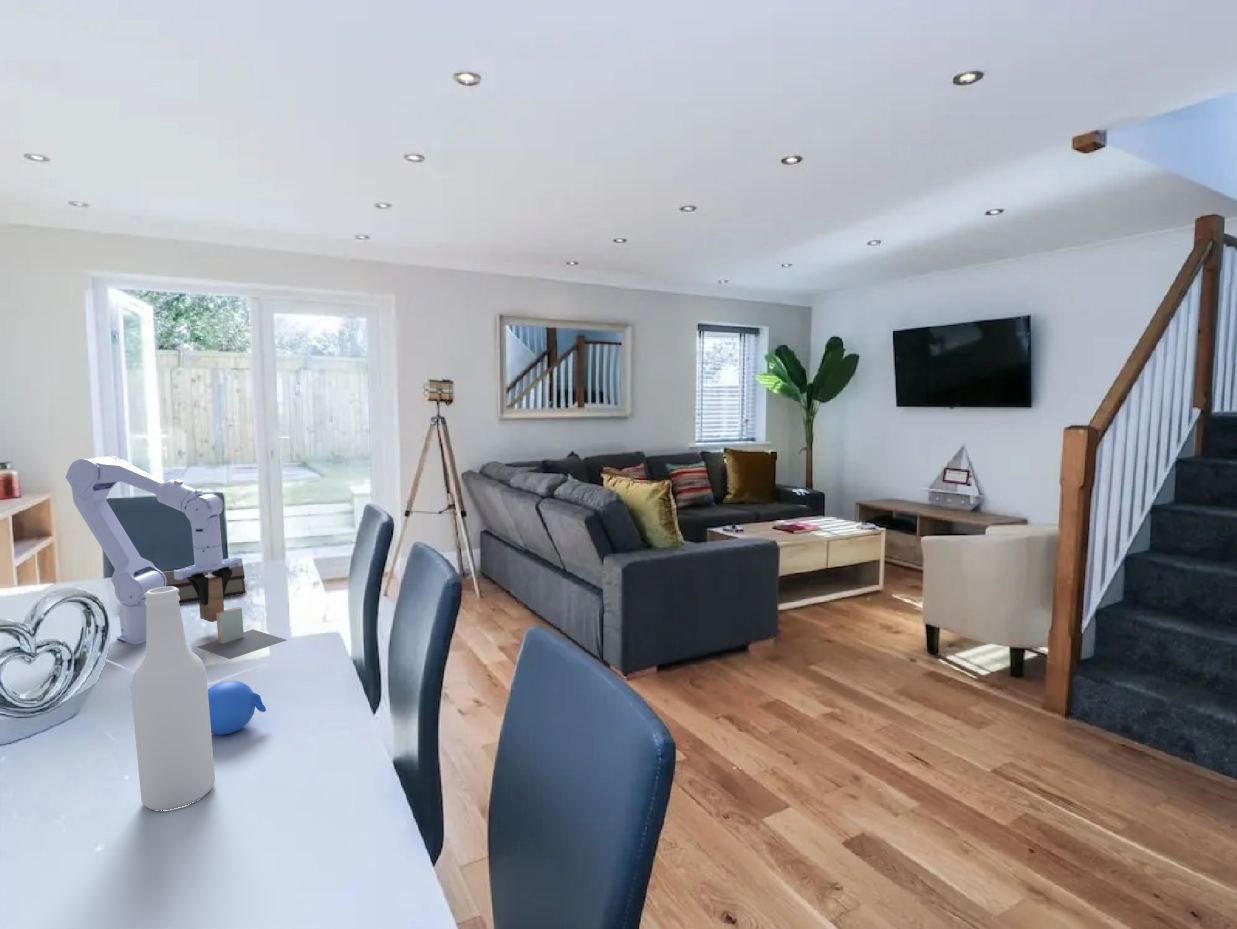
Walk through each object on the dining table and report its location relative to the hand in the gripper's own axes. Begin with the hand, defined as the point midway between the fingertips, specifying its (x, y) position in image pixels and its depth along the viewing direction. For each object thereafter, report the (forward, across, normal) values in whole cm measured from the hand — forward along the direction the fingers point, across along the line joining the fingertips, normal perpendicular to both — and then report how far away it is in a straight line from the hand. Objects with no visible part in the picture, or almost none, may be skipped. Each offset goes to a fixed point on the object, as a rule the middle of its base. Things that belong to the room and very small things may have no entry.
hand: (212, 602), depth 160 cm
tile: (+8, 0, -7) cm, 11 cm away
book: (+9, +15, +43) cm, 47 cm away
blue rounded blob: (+8, -22, -49) cm, 54 cm away
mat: (+8, 0, -12) cm, 14 cm away
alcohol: (+8, -37, -63) cm, 73 cm away
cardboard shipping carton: (+4, 0, 0) cm, 4 cm away
